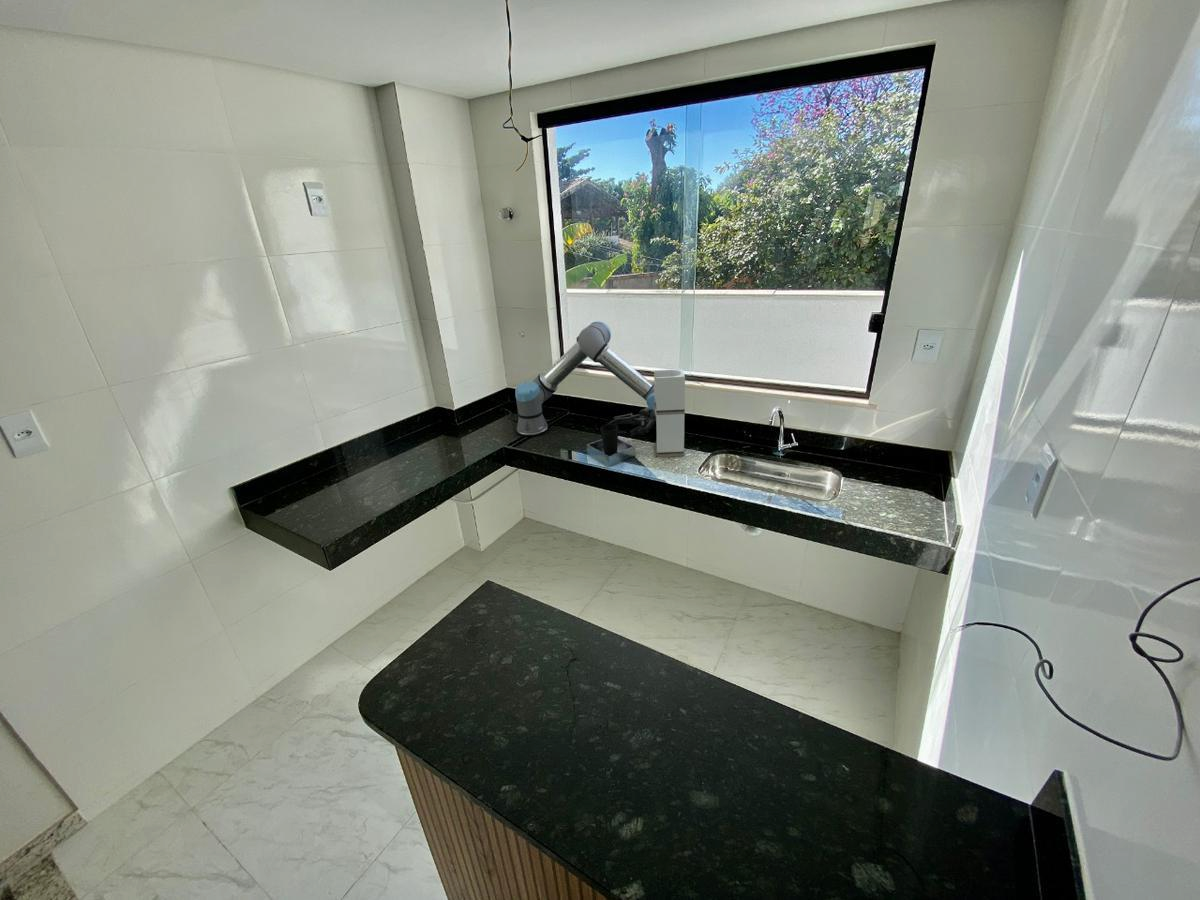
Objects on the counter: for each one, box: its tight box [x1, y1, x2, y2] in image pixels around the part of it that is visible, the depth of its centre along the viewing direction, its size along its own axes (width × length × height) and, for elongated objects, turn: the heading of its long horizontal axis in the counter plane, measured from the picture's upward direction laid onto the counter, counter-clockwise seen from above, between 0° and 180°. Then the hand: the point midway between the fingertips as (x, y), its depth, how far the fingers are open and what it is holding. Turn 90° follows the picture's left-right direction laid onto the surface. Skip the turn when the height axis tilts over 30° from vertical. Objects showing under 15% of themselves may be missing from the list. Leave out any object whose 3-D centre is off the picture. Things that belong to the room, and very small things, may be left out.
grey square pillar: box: [653, 368, 686, 458], centre depth 204 cm, size 11×11×35 cm
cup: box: [599, 423, 619, 456], centre depth 208 cm, size 8×8×12 cm
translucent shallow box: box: [586, 438, 636, 467], centre depth 210 cm, size 16×14×4 cm
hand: (618, 430), depth 211 cm, fingers open, 13 cm apart
